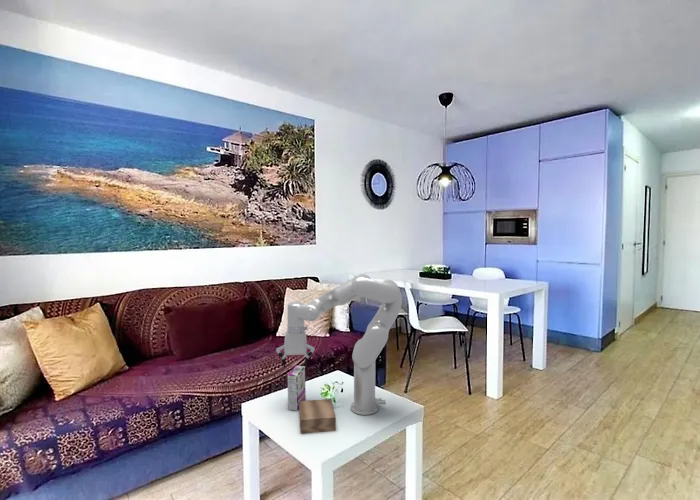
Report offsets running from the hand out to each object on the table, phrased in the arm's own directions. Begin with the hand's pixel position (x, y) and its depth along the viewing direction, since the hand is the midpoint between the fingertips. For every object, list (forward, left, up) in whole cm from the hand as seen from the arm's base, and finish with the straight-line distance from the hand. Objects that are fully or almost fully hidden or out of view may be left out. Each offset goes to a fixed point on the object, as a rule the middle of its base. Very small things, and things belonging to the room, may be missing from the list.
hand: (295, 366), depth 170 cm
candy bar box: (-1, 0, -18) cm, 18 cm away
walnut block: (-9, +16, -19) cm, 26 cm away
